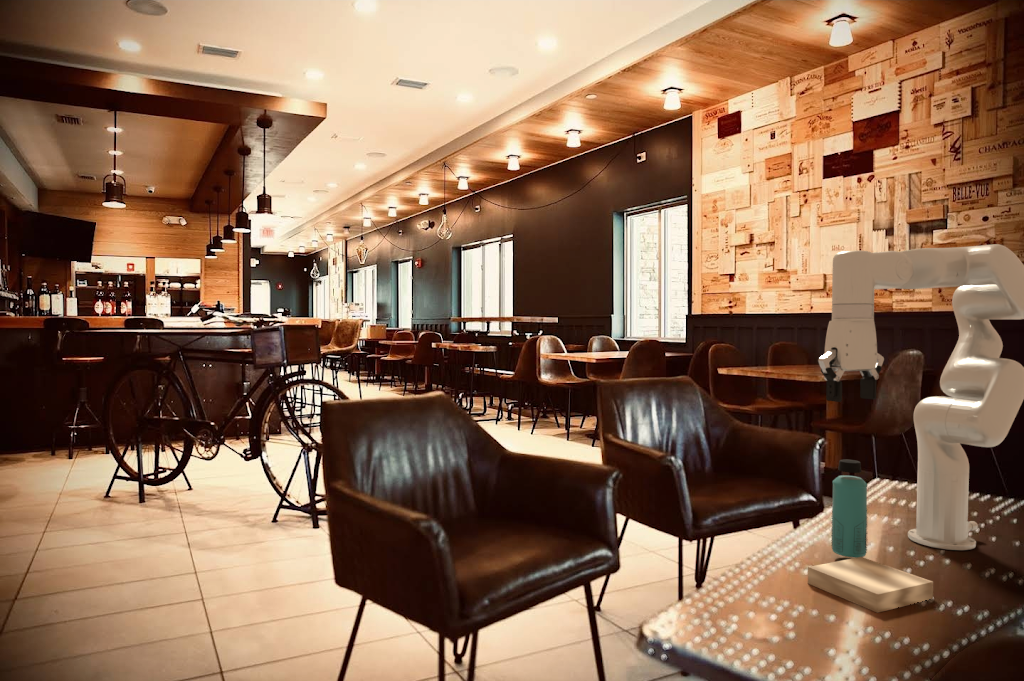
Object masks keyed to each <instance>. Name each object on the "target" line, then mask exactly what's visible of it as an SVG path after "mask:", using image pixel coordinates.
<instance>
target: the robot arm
mask: <svg viewBox="0 0 1024 681" xmlns="http://www.w3.org/2000/svg"><path fill="white" fill-rule="evenodd" d="M831 274H832V275H831V276H832V277H831V278H832V280H831V281H832V282H831V283H832V284H831V285H832V287H831V291H832V292H831V294H832V295H831V304H832V305H831V320H829V322H828V324H827V330H826V336H825V343H824V353H823V355H821V356H820V357H818V359H817V362H818V365H819V367H820V372H821V374H822V375H823V380H824V381H825V382H826V385H825V386H826V388H825V390H826V391H825V392H826V393H825V394H826V396H825V399H826V401H829V402H834V403H835V402H836V403H841V402H842V401H843V381H842V380H841V378H842V376H843V375H844V374H845V372H859V373H860V375H861V376H862V378H860V383H859V385H860V389H859V390H860V391H859V395H860V396H859V397H860V398H861V399H864V400H873V401H874V400H876V399H877V380H878V379H879V377H880V375H879V374H880V373H881V371H882V366H883V364H884V361H885V358H884V356H882V354H880V353H878V342H877V331H876V330H877V329H876V324H875V323H876V322H875V290H889V289H890V290H891V289H899V290H900V289H901V290H918V289H919V290H920V289H921V290H922V289H923V290H924V289H937V288H938V289H939V288H953V287H954V288H955V287H957V288H955V291H954V292H953V294H952V299H951V301H952V302H951V305H952V309H953V313H954V316H955V319H956V323H957V327H958V335H959V336H958V340H957V341H956V344H955V347H954V349H953V351H952V352H951V355H950V356H949V358H948V360H947V363H946V364H945V366H944V368H943V370H942V373H941V375H940V380H939V387H940V390H941V391H942V392H943V393H944V394H945V395H946V396H944V395H941V396H940V395H939V396H937V395H935V396H927V397H925V398H923V399H921V400H920V401H919V402H918V403H917V404H916V405H915V408H914V411H913V415H912V416H913V424H914V425H913V426H914V429H915V435H916V441H917V443H916V444H917V478H916V479H917V482H916V484H917V485H916V516H915V517H916V520H915V521H916V523H915V528H912V529H909V530H908V531H907V537H908V539H909V540H910V541H912V542H915V543H917V544H919V545H924V546H927V547H931V548H935V549H941V550H949V551H969V550H973V549H975V548H976V546H977V541H976V540H975V539H974V538H973V537H971V536H969V532H970V531H976V530H978V528H979V524H978V523H977V522H976V521H975V520H970V521H969V519H968V518H969V491H970V490H969V486H970V485H969V484H970V483H969V481H970V480H969V479H970V463H969V458H968V456H967V453H966V451H965V449H964V448H963V447H962V445H967V446H968V445H969V446H974V447H981V448H994V447H996V446H997V447H998V446H999V445H1000V444H1001V443H1002V442H1003V441H1004V440H1005V438H1006V437H1007V436H1008V434H1009V432H1010V429H1011V428H1012V425H1013V423H1014V421H1015V418H1016V417H1017V415H1018V414H1019V410H1020V408H1021V406H1022V404H1023V402H1024V366H1023V365H1022V364H1021V363H1020V362H1019V361H1016V360H1014V359H1010V358H1003V357H1001V354H1002V351H1003V347H1004V345H1003V341H1002V337H1001V335H999V333H998V331H997V330H996V329H995V327H994V326H993V325H992V323H991V321H990V320H1024V263H1023V262H1022V260H1021V259H1020V258H1019V257H1018V256H1017V255H1016V253H1014V252H1013V251H1012V250H1011V249H1010V248H1009V247H1007V246H1005V245H1003V244H998V243H995V244H984V245H983V244H982V245H974V246H961V247H960V246H958V247H956V246H955V247H954V246H953V247H921V248H913V249H908V250H901V251H897V250H887V251H873V252H871V251H868V250H845V251H840V252H839V251H838V252H837V253H835V254H834V256H833V258H832V272H831Z"/></svg>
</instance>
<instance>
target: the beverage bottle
mask: <svg viewBox="0 0 1024 681" xmlns="http://www.w3.org/2000/svg"><path fill="white" fill-rule="evenodd" d="M838 471H839V472H843V473H848V474H849V473H851V474H859V473H862V464H861V461H859V460H855V459H840V460H839V462H838ZM867 489H868V484H867V482H866V481H865V480H864V479H863V478H862V477H860V476H855V475H844V474H843V475H838V476H837V477H835V478H834V479H833V480H832V505H831V509H832V510H831V517H830V518H831V528H830V531H831V532H830V533H831V534H830V537H831V539H830V542H831V545H830V546H831V549H832V552H833V553H835V554H836V555H838V556H843V557H847V558H857V557H864V558H865V557H866V554H867V553H868V549H867V548H868V543H867V542H868V508H867V507H868V506H867V505H868V504H867V502H868V501H867V500H868V498H867V497H868V492H867V491H868V490H867Z"/></svg>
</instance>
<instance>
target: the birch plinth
mask: <svg viewBox="0 0 1024 681" xmlns="http://www.w3.org/2000/svg"><path fill="white" fill-rule="evenodd" d="M807 584H808V585H810V586H813V587H815V588H818V589H820V590H823V591H825V592H827V593H830V594H831V595H835V596H837V597H839V598H842V599H844V600H846V601H849V602H851V603H853V604H856V605H858V606H860V607H862V608H865V609H868V610H870V611H873V612H875V613H881V612H886V611H890V610H893V609H897V608H898V607H899V608H902V607H905V606H910V604H911V605H914V603H915V604H918V603H917V602H919V603H922V601H923V602H926V601H925V600H927V601H930V600H929V599H931V600H934V581H933V580H930V579H926V578H923V577H920V576H918V575H916V574H912V573H909V572H906V571H904V570H901V569H898V568H895V567H892V566H889V565H886V564H884V563H881V562H877V561H875V560H872V559H870V558H869V559H868V558H867V557H865V556H864V557H857V558H855V557H851V558H847V559H842V560H837V561H831V562H828V563H822V564H816V565H812V566H811V565H810V566H808V567H807Z"/></svg>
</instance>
